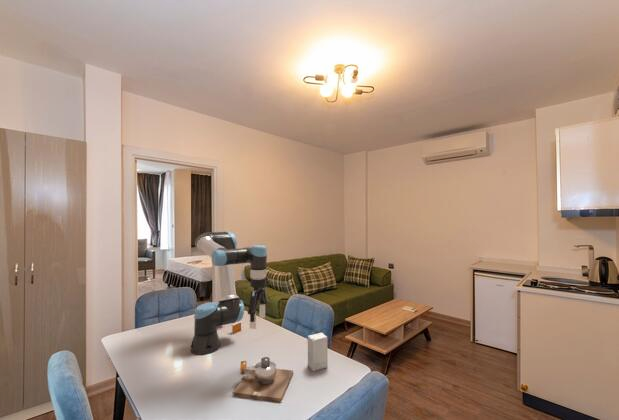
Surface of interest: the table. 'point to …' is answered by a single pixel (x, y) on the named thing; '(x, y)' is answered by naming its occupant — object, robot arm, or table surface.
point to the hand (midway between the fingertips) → (257, 322)
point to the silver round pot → (260, 370)
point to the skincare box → (317, 351)
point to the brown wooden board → (264, 386)
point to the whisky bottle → (236, 327)
